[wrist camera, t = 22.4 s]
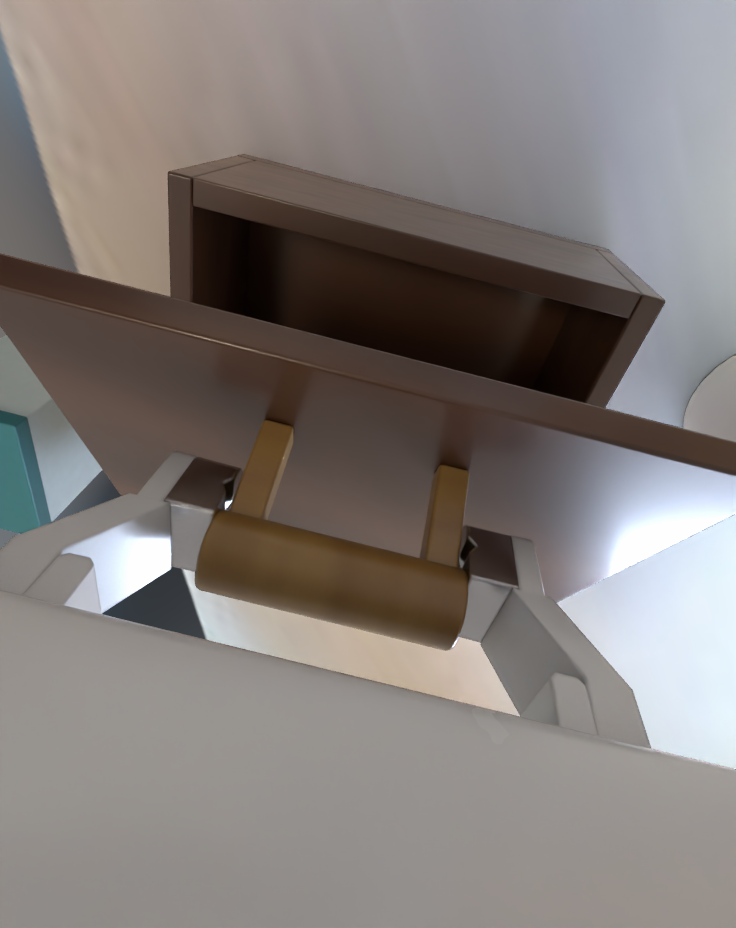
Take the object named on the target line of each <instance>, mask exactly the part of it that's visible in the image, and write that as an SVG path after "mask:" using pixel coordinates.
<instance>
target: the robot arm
mask: <svg viewBox="0 0 736 928" xmlns="http://www.w3.org/2000/svg"><path fill="white" fill-rule="evenodd" d="M242 475H243V471H242V469H241V468H238V467H235V466H231V465H227V464H224V463H220V462H216V461H213V460H209V459H205V458H202V457H196V456H193V455H190V454H186V453H182V452H178V451H175V452H173V453H171V454H170V455H169V456H168V457H167V458H166V460H165V461H164V462H163V463H162V464H161V466H160V467H159V468H158V469H157V470H156V472H155V473H154V474H153V475H152V477H151V478H150V479H149V480H148V481H147V483H146V484H145V485H144V486H143V487H142V489H141V490H140V491H139V492H138V494H137V495H136V494H132V493H129V494H126V495H123V496H121V497H118V498H115V499H113V500H110V501H108V502H105V503H102V504H99V505H97V506H94V507H91V508H89V509H86V510H83V511H81V512H78V513H75V514H73V515H70V516H67V517H65V518H62V519H59V520H57V521H54V522H51V523H49V524H46V525H43V526H40V527H38V528H35V529H32V530H30V531H27V532H24V533H22V534H19V535H17V536H14V537H12V538H11V539H10V540H9V541H8V542H7V543H6V544H5V545H4V546H3V547H2V548H1V549H0V928H736V769H733V768H728V767H724V766H720V765H716V764H712V763H708V762H704V761H700V760H696V759H692V758H687V757H683V756H679V755H675V754H671V753H667V752H663V751H659V750H655V749H651V746H650V743H649V740H648V737H647V734H646V730H645V727H644V724H643V721H642V718H641V715H640V712H639V709H638V706H637V702H636V699H635V696H634V693H633V690H632V689H631V688H630V687H629V685H628V684H627V683H626V682H625V681H624V680H623V679H622V677H621V676H620V675H619V674H618V673H617V672H616V671H615V669H614V668H613V667H612V666H611V665H610V664H609V663H608V662H607V660H606V659H605V658H604V657H603V656H602V655H601V654H600V652H599V651H598V650H597V649H596V648H595V647H594V646H593V644H592V643H591V642H590V641H589V640H588V639H587V638H586V636H585V635H584V634H583V633H582V632H581V631H580V630H579V629H578V627H577V626H576V625H575V624H574V623H573V622H572V621H571V619H570V618H569V617H568V616H567V615H566V614H565V613H564V611H563V610H562V609H561V608H560V607H559V606H558V605H557V604H556V602H555V601H554V600H553V599H552V598H550V597H546V596H545V593H544V589H543V584H542V579H541V575H540V570H539V565H538V561H537V556H536V551H535V546H534V543H533V542H532V540H530V539H526V538H521V537H517V536H512V535H506V534H502V533H497V532H493V531H489V530H485V529H481V528H477V527H473V526H469V525H465V526H464V527H463V530H462V538H461V546H460V554H459V562H458V568H461V569H463V570H464V571H465V572H466V574H467V578H468V603H467V610H466V615H465V620H464V624H463V627H462V630H461V633H460V636H459V637H462V638H466V639H469V640H473V641H477V642H480V643H481V644H480V645H481V647H482V648H483V650H484V652H485V654H486V655H487V657H488V659H489V661H490V663H491V664H492V666H493V668H494V670H495V672H496V673H497V675H498V677H499V679H500V681H501V682H502V684H503V686H504V688H505V690H506V691H507V693H508V695H509V697H510V698H511V700H512V702H513V704H514V706H515V707H516V709H517V711H518V713H519V715H520V716H516V715H511V714H507V713H503V712H499V711H495V710H491V709H487V708H483V707H479V706H475V705H471V704H467V703H462V702H458V701H454V700H450V699H446V698H442V697H438V696H434V695H430V694H426V693H421V692H417V691H413V690H409V689H405V688H401V687H397V686H393V685H389V684H385V683H381V682H376V681H372V680H368V679H364V678H360V677H356V676H352V675H348V674H344V673H340V672H336V671H331V670H327V669H323V668H319V667H315V666H311V665H307V664H303V663H299V662H295V661H291V660H286V659H282V658H278V657H274V656H270V655H266V654H262V653H258V652H254V651H250V650H245V649H241V648H237V647H233V646H229V645H225V644H221V643H217V642H213V641H209V640H205V639H200V638H196V637H192V636H188V635H184V634H179V633H176V632H172V631H167V630H163V629H159V628H155V627H151V626H147V625H143V624H139V623H135V622H131V621H126V620H123V619H118V618H114V617H110V616H106V615H102V613H103V612H105V611H106V610H108V609H109V608H111V607H112V606H114V605H115V604H117V603H118V602H120V601H121V600H123V599H125V598H126V597H128V596H129V595H131V594H132V593H134V592H136V591H137V590H139V589H140V588H142V587H143V586H145V585H146V584H148V583H150V582H151V581H153V580H154V579H156V578H157V577H159V576H160V575H162V574H164V573H165V572H167V571H168V570H170V569H171V566H172V567H177V568H181V569H186V570H190V571H195V568H196V562H197V557H198V553H199V550H200V546H201V543H202V540H203V538H204V535H205V533H206V530H207V528H208V526H209V524H210V522H211V521H212V519H213V518H214V516H215V515H216V514H217V513H218V512H219V511H220V510H229V509H230V506H231V503H232V501H233V498H234V496H235V493H236V490H237V488H238V485H239V483H240V480H241V477H242Z"/></svg>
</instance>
